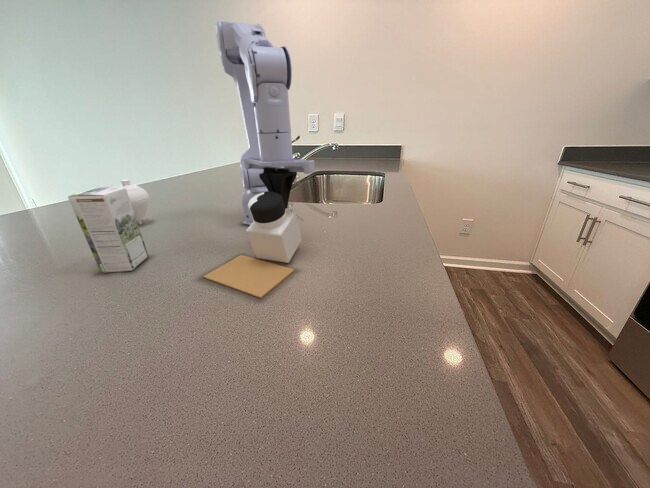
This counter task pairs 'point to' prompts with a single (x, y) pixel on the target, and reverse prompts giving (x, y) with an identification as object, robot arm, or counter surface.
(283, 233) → the medicine bottle
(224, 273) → the cork mat
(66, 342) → the counter surface
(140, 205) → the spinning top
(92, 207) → the syrup box
